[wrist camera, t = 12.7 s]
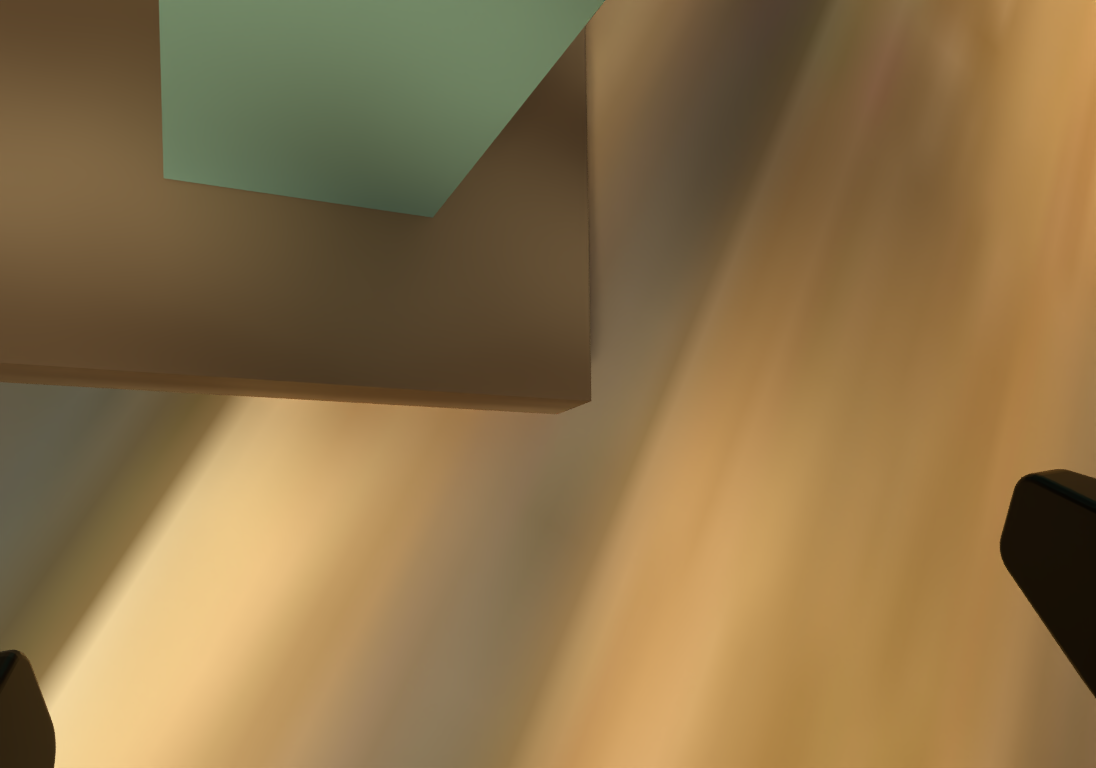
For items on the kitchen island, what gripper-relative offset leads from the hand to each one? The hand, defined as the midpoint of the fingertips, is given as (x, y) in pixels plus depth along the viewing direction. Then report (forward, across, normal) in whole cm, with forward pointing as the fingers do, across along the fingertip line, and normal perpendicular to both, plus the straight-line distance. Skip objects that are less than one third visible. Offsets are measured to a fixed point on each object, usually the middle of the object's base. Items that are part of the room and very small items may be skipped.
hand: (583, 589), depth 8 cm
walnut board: (+15, +2, -1) cm, 15 cm away
